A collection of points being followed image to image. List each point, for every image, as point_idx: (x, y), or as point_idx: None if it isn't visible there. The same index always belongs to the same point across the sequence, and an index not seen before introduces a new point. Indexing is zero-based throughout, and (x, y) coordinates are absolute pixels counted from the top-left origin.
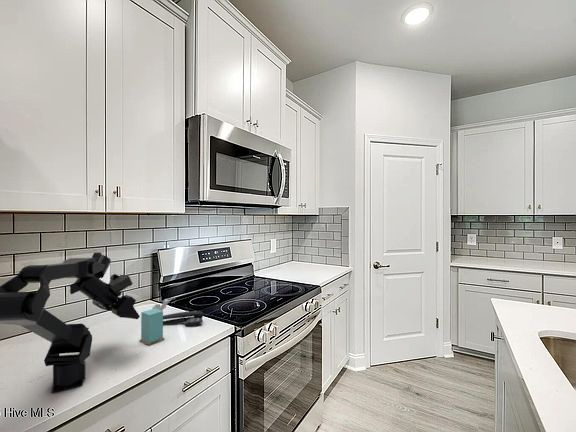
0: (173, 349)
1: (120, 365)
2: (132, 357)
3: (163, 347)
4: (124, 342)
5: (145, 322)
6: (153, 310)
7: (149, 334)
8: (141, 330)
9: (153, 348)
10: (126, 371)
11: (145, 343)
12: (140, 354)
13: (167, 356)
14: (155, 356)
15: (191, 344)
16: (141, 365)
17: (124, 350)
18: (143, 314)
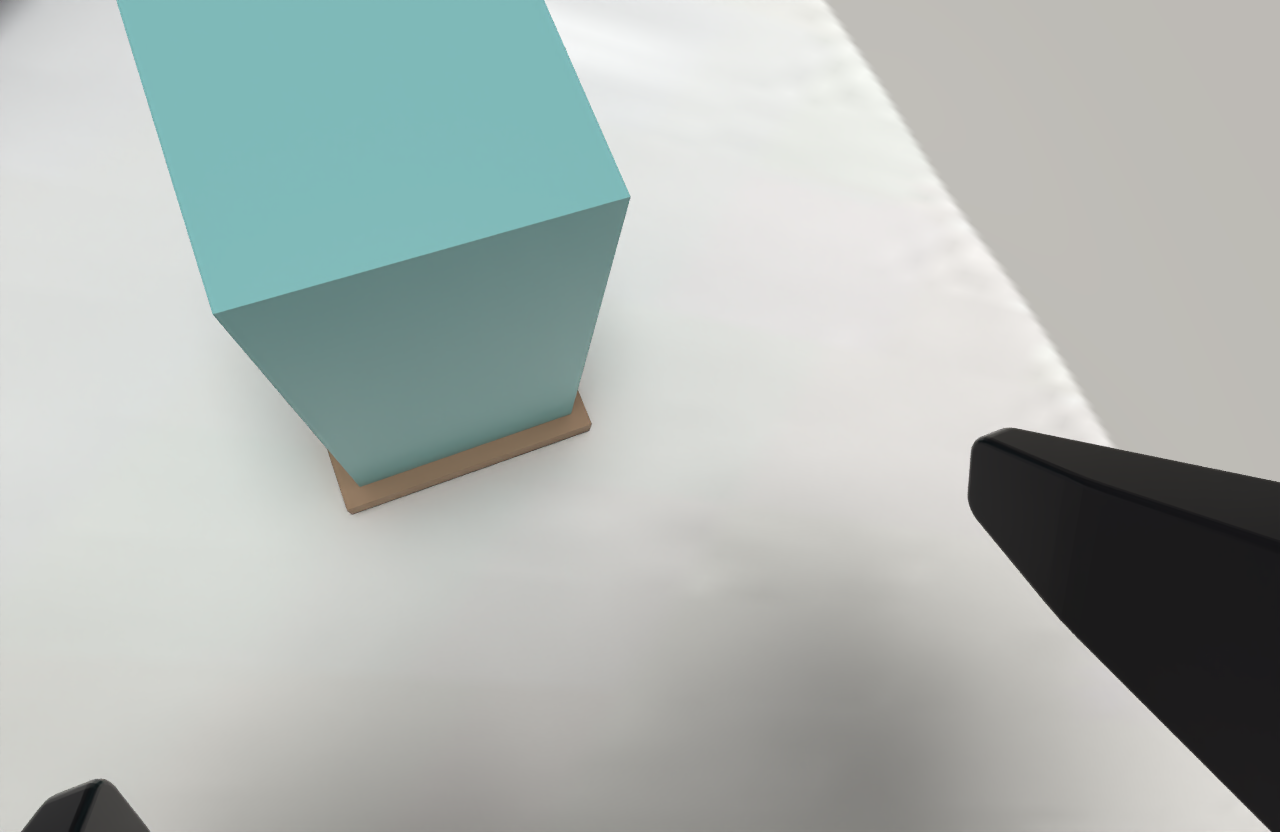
0: (840, 214)
1: (982, 804)
2: (830, 653)
3: (730, 288)
4: (229, 724)
5: (462, 339)
6: (289, 29)
7: (577, 365)
8: (339, 449)
9: (697, 391)
10: (1150, 743)
11: (516, 453)
12: (791, 554)
13: (980, 306)
14: (925, 412)
15: (807, 36)
16: None
17: (551, 738)
18: (353, 296)
